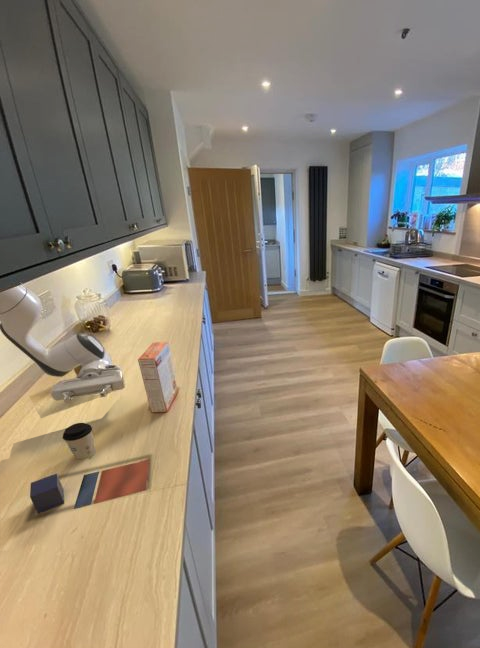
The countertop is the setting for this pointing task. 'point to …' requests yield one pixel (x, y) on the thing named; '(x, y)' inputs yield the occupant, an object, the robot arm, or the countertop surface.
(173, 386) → the cracker box
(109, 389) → the robot arm
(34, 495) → the navy block
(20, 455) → the countertop surface
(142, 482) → the sorting board
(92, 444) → the coffee cup
